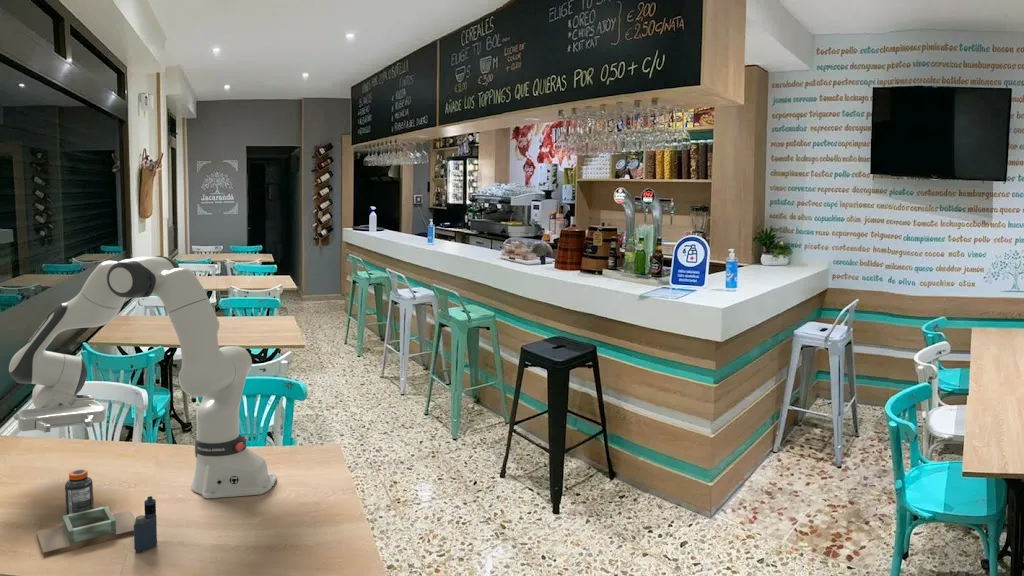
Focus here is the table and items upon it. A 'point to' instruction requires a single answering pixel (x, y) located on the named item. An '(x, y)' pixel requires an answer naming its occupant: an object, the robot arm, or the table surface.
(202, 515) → the table surface
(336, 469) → the table surface
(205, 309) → the robot arm
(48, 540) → the socket board
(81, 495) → the pill bottle
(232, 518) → the table surface
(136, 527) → the vaping device
